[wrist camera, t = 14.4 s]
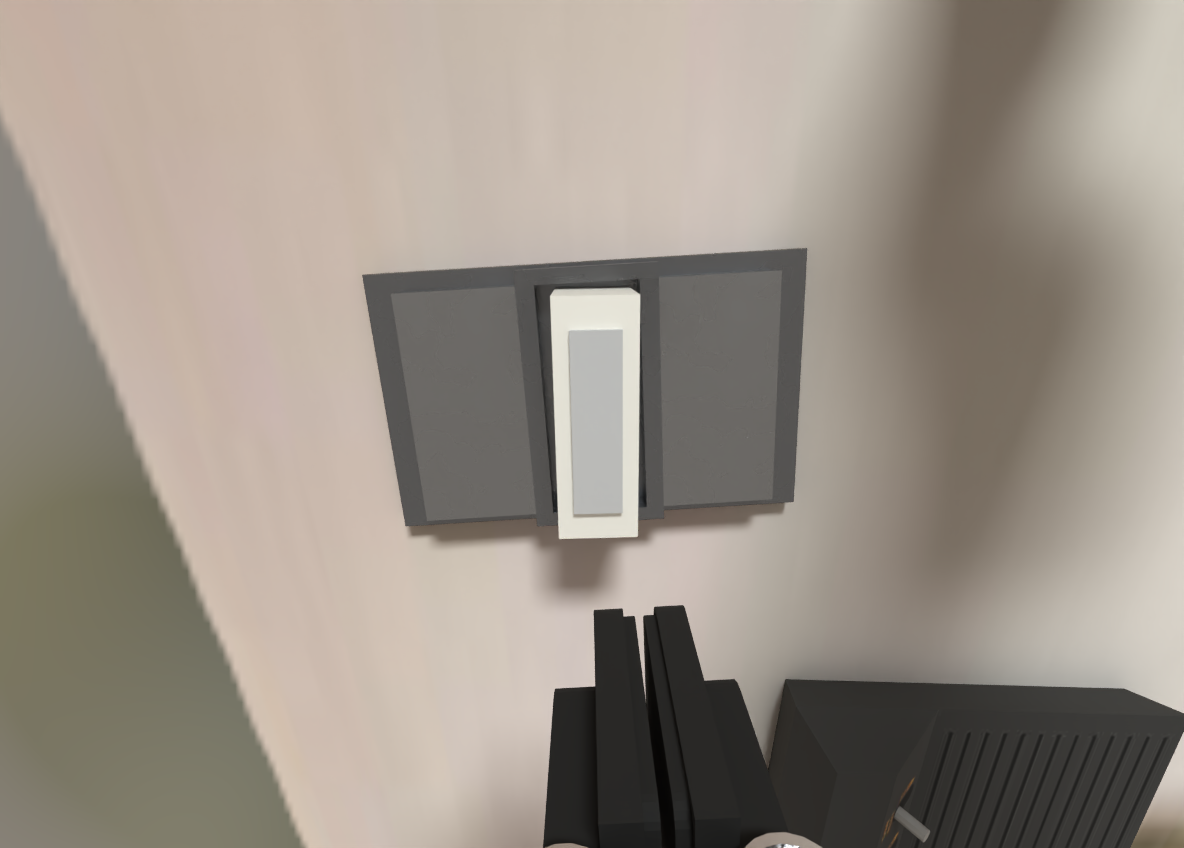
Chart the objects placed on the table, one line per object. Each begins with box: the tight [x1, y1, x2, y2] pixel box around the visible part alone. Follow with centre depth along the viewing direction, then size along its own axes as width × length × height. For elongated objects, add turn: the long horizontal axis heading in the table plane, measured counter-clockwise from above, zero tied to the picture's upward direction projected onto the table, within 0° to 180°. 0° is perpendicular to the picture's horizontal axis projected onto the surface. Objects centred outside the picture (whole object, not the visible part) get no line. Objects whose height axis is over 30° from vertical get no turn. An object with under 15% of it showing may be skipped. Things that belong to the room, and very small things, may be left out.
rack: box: [362, 248, 807, 526], centre depth 32 cm, size 24×15×3 cm, turn 93°
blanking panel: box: [550, 287, 640, 539], centre depth 29 cm, size 4×12×6 cm, turn 1°
